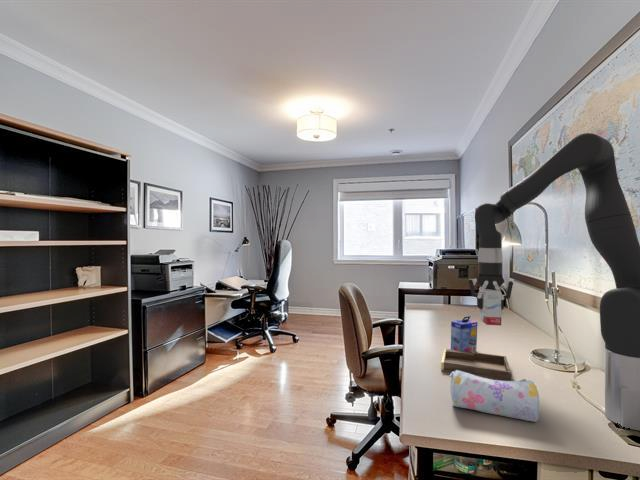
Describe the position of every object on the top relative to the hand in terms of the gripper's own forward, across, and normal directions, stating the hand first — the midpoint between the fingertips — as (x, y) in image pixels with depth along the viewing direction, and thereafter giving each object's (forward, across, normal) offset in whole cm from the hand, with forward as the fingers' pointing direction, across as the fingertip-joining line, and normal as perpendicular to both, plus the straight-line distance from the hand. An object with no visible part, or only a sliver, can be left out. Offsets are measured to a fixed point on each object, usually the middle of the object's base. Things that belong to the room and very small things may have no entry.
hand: (490, 309), depth 114 cm
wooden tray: (+21, -5, 0) cm, 22 cm away
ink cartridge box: (+21, -8, +18) cm, 29 cm away
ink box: (+5, 0, 0) cm, 5 cm away
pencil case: (+22, -1, -31) cm, 38 cm away
